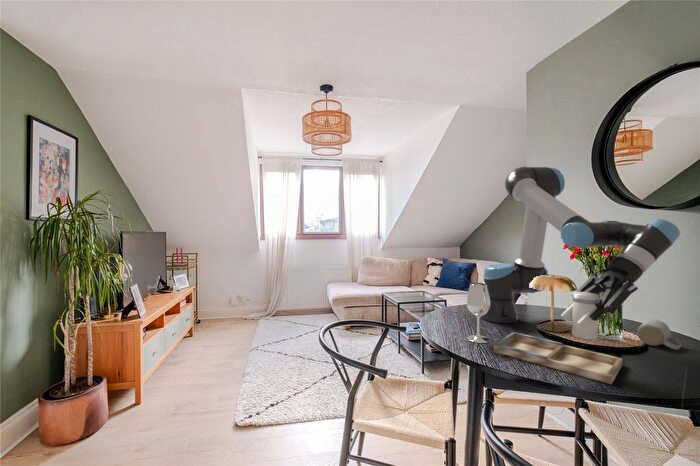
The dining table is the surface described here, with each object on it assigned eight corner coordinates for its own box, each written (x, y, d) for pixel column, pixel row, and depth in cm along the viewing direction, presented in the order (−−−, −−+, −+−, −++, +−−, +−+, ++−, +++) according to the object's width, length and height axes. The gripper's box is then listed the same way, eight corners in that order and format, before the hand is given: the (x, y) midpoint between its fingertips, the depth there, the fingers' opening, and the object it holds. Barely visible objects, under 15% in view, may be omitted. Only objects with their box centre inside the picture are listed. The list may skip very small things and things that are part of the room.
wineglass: (491, 344, 113) (491, 286, 113) (466, 342, 116) (466, 285, 115) (489, 337, 121) (489, 282, 120) (466, 334, 123) (466, 281, 123)
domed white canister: (569, 335, 95) (570, 294, 95) (574, 330, 99) (575, 290, 99) (595, 341, 91) (596, 297, 90) (599, 335, 95) (601, 294, 94)
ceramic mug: (635, 343, 114) (636, 321, 113) (641, 337, 119) (642, 316, 118) (678, 353, 105) (679, 329, 105) (683, 347, 110) (684, 324, 110)
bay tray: (493, 352, 106) (493, 343, 106) (513, 340, 117) (513, 331, 117) (611, 386, 84) (611, 374, 84) (622, 366, 95) (622, 356, 95)
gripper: (671, 280, 86) (608, 344, 86) (610, 268, 104) (558, 321, 104) (652, 259, 85) (589, 324, 85) (594, 252, 104) (542, 304, 104)
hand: (572, 322), depth 95 cm, fingers closed on domed white canister, 6 cm apart
